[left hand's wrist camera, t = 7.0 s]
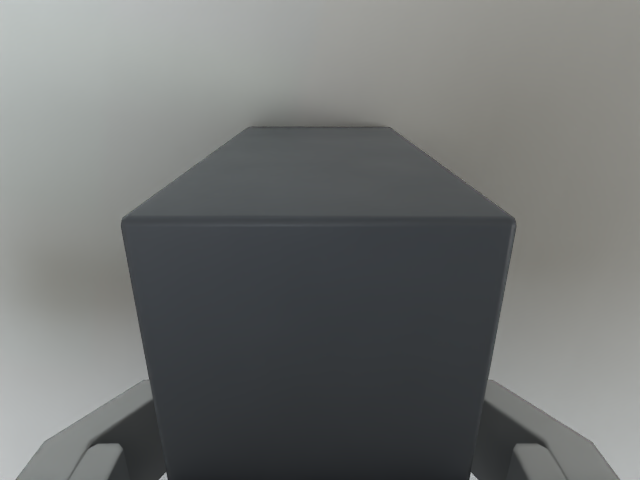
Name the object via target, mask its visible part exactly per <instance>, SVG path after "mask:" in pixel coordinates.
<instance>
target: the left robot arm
mask: <svg viewBox="0 0 640 480" xmlns="http://www.w3.org/2000/svg"><path fill="white" fill-rule="evenodd" d="M165 472H166V467H165V461H164V456H163V451H162V445H161V440H160V434H159V429H158V424H157V418H156V413H155V407H154V402H153V397H152V391H151V386H150V380H143V381H141V382H140V383H138V384H137V385H135V386H133V387H132V388H130V389H129V390H127V391H125V392H124V393H122V394H120V395H119V396H117V397H116V398H114V399H112V400H111V401H109V402H108V403H106V404H104V405H103V406H101V407H99V408H98V409H96V410H95V411H93V412H91V413H90V414H88V415H87V416H85V417H83V418H82V419H80V420H78V421H77V422H75V423H74V424H72V425H70V426H69V427H67V428H66V429H64V430H62V431H61V432H59V433H57V434H56V435H54V436H53V437H51V438H49V439H48V440H46V441H45V442H44V443H43V444H42V445H41V447H40V448H39V449H38V451H37V452H36V453H35V455H34V456H33V457H32V459H31V460H30V461H29V463H28V464H27V465H26V466H25V468H24V469H23V470H22V472H21V473H20V474H19V476H18V477H17V478H16V480H159V479H160V478H161V477H162V475H163V474H164V473H165ZM471 472H472V473H473V474H474V476H475V477H476V478H477V479H478V480H620V479H619V478H618V476H617V475H616V473H615V472H614V471H613V469H612V468H611V467H610V465H609V464H608V463H607V461H606V460H605V459H604V457H603V456H602V455H601V453H600V452H599V451H598V449H597V448H596V446H595V445H594V444H593V442H591V441H590V440H588V439H586V438H585V437H583V436H582V435H580V434H578V433H577V432H575V431H574V430H572V429H570V428H569V427H567V426H566V425H564V424H562V423H561V422H559V421H558V420H556V419H554V418H553V417H551V416H550V415H548V414H546V413H545V412H543V411H542V410H540V409H538V408H537V407H535V406H534V405H532V404H530V403H529V402H527V401H526V400H524V399H522V398H521V397H519V396H518V395H516V394H514V393H513V392H511V391H510V390H508V389H506V388H505V387H503V386H502V385H500V384H498V383H497V382H495V381H494V380H488V381H487V387H486V392H485V397H484V403H483V408H482V413H481V419H480V424H479V430H478V435H477V440H476V446H475V451H474V456H473V462H472V467H471Z"/></svg>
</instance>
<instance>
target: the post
mask: <svg viewBox="0 0 640 480" xmlns="http://www.w3.org/2000/svg"><path fill="white" fill-rule="evenodd" d="M121 229H122V234H123V240H124V245H125V251H126V256H127V261H128V267H129V272H130V278H131V283H132V288H133V294H134V299H135V305H136V310H137V315H138V321H139V326H140V332H141V337H142V343H143V348H144V353H145V359H146V364H147V370H148V375H149V380H150V386H151V391H152V397H153V402H154V407H155V413H156V418H157V424H158V429H159V434H160V440H161V445H162V451H163V456H164V461H165V467H166V472H167V478H168V480H469V478H470V472H471V467H472V462H473V456H474V451H475V446H476V440H477V435H478V430H479V424H480V419H481V413H482V408H483V403H484V397H485V392H486V387H487V381H488V376H489V371H490V365H491V360H492V354H493V349H494V344H495V338H496V333H497V328H498V322H499V317H500V311H501V306H502V301H503V295H504V290H505V285H506V279H507V274H508V269H509V263H510V258H511V252H512V247H513V242H514V236H515V231H516V221H515V218H514V217H512V216H511V215H509V214H508V213H507V212H505V211H504V210H503V209H501V208H500V207H498V206H497V205H496V204H494V203H493V202H492V201H490V200H489V199H487V198H486V197H485V196H483V195H482V194H481V193H479V192H478V191H477V190H475V189H474V188H472V187H471V186H470V185H468V184H467V183H466V182H464V181H463V180H461V179H460V178H459V177H457V176H456V175H455V174H453V173H452V172H450V171H449V170H448V169H446V168H445V167H444V166H442V165H441V164H440V163H438V162H437V161H435V160H434V159H433V158H431V157H430V156H429V155H427V154H426V153H424V152H423V151H422V150H420V149H419V148H418V147H416V146H415V145H413V144H412V143H411V142H409V141H408V140H407V139H405V138H404V137H403V136H401V135H400V134H398V133H397V132H396V131H394V130H393V129H392V128H390V127H248V128H246V129H245V130H244V131H242V132H241V133H239V134H238V135H237V136H235V137H234V138H232V139H231V140H230V141H228V142H227V143H226V144H224V145H223V146H221V147H220V148H219V149H217V150H216V151H214V152H213V153H212V154H210V155H209V156H208V157H206V158H205V159H203V160H202V161H201V162H199V163H198V164H196V165H195V166H194V167H192V168H191V169H190V170H188V171H187V172H185V173H184V174H183V175H181V176H180V177H178V178H177V179H176V180H174V181H173V182H172V183H170V184H169V185H167V186H166V187H165V188H163V189H162V190H161V191H159V192H158V193H156V194H155V195H154V196H152V197H151V198H149V199H148V200H147V201H145V202H144V203H143V204H141V205H140V206H138V207H137V208H136V209H134V210H133V211H131V212H130V213H129V214H127V215H126V216H125V217H123V219H122V222H121Z"/></svg>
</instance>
